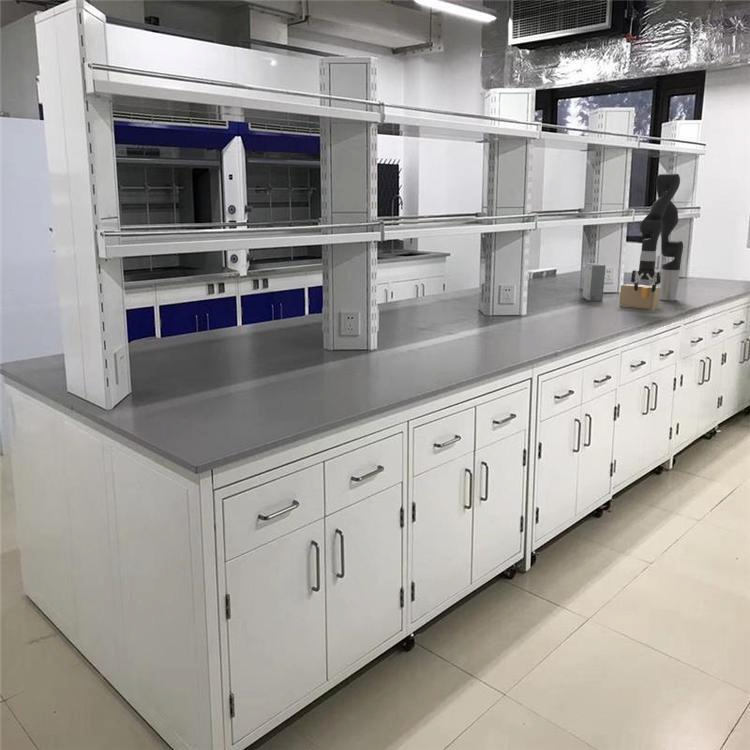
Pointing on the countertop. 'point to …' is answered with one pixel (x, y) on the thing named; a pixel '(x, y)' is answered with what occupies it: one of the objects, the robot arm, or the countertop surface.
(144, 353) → the countertop surface
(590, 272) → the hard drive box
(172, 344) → the countertop surface
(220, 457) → the countertop surface
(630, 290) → the flap
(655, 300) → the carton
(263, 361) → the countertop surface
